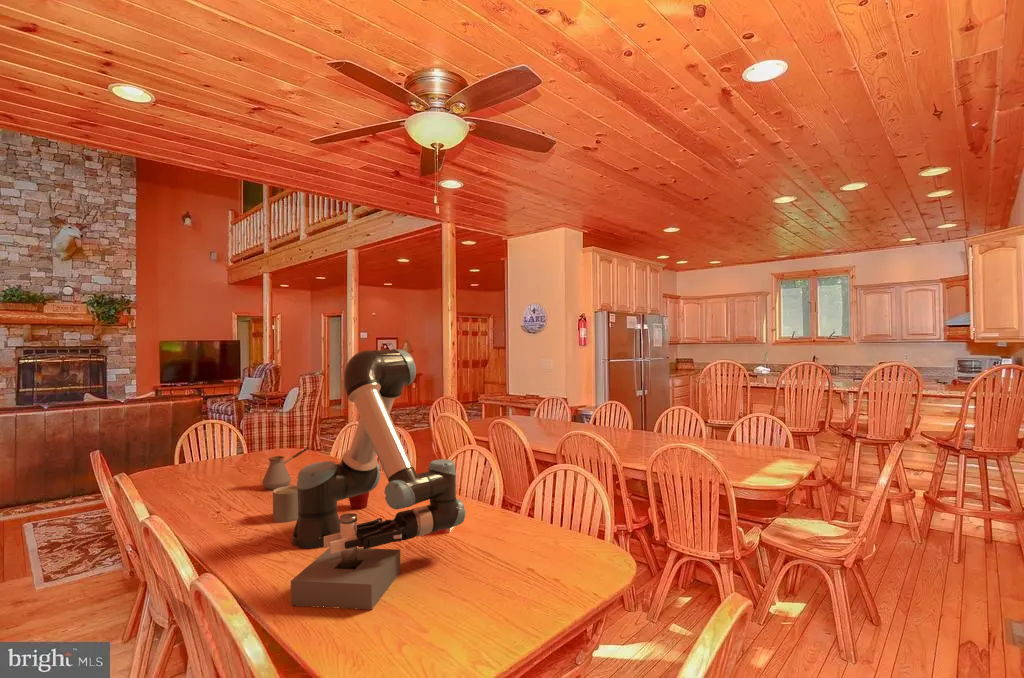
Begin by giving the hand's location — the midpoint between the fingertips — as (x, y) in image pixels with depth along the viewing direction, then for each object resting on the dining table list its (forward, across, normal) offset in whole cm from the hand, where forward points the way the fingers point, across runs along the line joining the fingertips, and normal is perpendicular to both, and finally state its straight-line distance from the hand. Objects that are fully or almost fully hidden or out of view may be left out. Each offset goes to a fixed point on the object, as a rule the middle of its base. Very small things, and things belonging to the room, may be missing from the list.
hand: (327, 545), depth 129 cm
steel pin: (-5, 0, -8) cm, 10 cm away
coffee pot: (-19, +110, -12) cm, 113 cm away
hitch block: (-5, 0, -12) cm, 13 cm away
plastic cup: (-31, +60, -12) cm, 69 cm away
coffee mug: (-10, +66, -12) cm, 68 cm away
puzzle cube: (-45, +21, -13) cm, 51 cm away
